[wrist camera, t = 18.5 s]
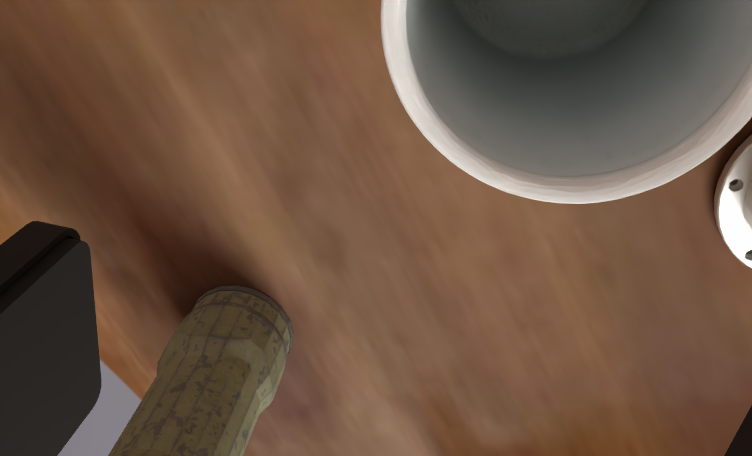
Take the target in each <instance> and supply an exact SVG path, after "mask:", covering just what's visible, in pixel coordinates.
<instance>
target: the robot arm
mask: <svg viewBox="0 0 752 456" xmlns="http://www.w3.org/2000/svg"><path fill="white" fill-rule="evenodd" d="M735 179H736V180H735ZM733 180H735V181H734V182H731V181H733ZM714 216H715V220H716V224H717V228H718V230H719V232H720V234H721V236H722V238H723V240H724V242H725V243H726V245H727V246H728V248H729V249H730V251H731V252H732V254H733V255H734V256H735V257H737V258H738V259H739V260H740V261H741V262H742V263H743V264H745V265H746V266H748V267H750V268H751V269H752V134H751V135H750V136H749V137H748V138H747V139H746V140H745V141H744V142H743V143H742V144H741V145H740V146H739V147H738V148H737V149H736V151H735V152H734V153H733V155H732V156H731V158H730V159H729V161H728V162H727V163H726V165H725V167H724V169H723V171H722V173H721V176H720V178H719V180H718V183H717V187H716V192H715V196H714ZM100 389H101V371H100V359H99V348H98V336H97V325H96V313H95V302H94V290H93V279H92V267H91V256H90V249H89V246H88V244H87V243H86V242H84V241H81V240H80V236H79V234H78V232H77V231H76V230H74V229H72V228H67V227H62V226H58V225H53V224H48V223H44V222H39V221H32V222H30V223H29V224H27V225H25V226H24V227H23V228H22V229H20V230H19V231H18V232H17V233H15V234H14V235H13V236H11V237H10V238H9V239H8V240H6V241H5V242H4V243H3V244H1V245H0V456H57V455H58V454H59V453H60V451H61V450H62V449H63V447H64V446H65V445H66V443H67V442H68V441H69V439H70V438H71V437H72V435H73V434H74V433H75V431H76V430H77V428H78V427H79V426H80V424H81V423H82V422H83V420H84V419H85V418H86V416H87V415H88V414H89V413H90V411H91V410H92V408H93V407H94V405H95V404H96V401H97V399H98V397H99V394H100ZM724 456H752V406H751V408H750V410H749V411H748V413H747V415H746V417H745V419H744V421H743V422H742V424H741V426H740V428H739V430H738V432H737V433H736V435H735V437H734V439H733V441H732V443H731V444H730V446H729V448H728V450H727V452H726V454H725V455H724Z"/></svg>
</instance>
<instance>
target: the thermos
mask: <svg viewBox="0 0 752 456" xmlns="http://www.w3.org/2000/svg"><path fill="white" fill-rule="evenodd" d="M292 338H293V331H292V327H291V323H290V320H289V318H288V317H287V315H286V314H285V312H284V311H283V309H282V307H280V306H279V305H278V304H277V303H276V302H275V301H274V300H272V299H271V298H270V297H269V296H267V295H265V294H263V293H261V292H259V291H257V290H255V289H252V288H247V287H243V286H239V285H231V286H220V287H217V288H214V289H212V290H209V291H207V292H206V293H205V294H204V295H202V296H201V297H200V298H199V299H198V300H197V302H196V303H195V305H194V307H193V309H192V311H191V312H190V313H189V314H188V315H187V316H186V317H184V319H183V320H182V322H181V323H180V325H179V327H178V328H177V330H176V331H175V333H174V335H173V336H172V338H171V339H170V341H169V343H168V345H167V347H166V348H165V350H164V352H163V354H162V356H161V358H160V360H159V361H158V368H157V377H156V378H155V380H154V381H153V383H152V385H151V386H150V388H149V390H148V391H147V393H146V395H145V396H144V398H143V400H142V401H141V403H140V405H139V406H138V408H137V409H136V411H135V413H134V414H133V416H132V418H131V419H130V421H129V423H128V424H127V426H126V428H125V429H124V431H123V432H122V434H121V436H120V437H119V439H118V441H117V442H116V444H115V445H114V447H113V449H112V451H111V452H110V454H109V455H108V456H243V454H244V451H245V449H246V446H247V444H248V441H249V439H250V436H251V434H252V431H253V429H254V426H255V424H256V421H257V419H258V416H259V415H260V414H261V413H262V412H263V411H264V410H265V409H266V408H267V407H268V406H269V405H270V404H271V403H272V401H273V398H274V396H275V393H276V390H277V388H278V385H279V383H280V380H281V377H282V375H283V372H284V369H285V365H286V358H287V354H288V353H289V351H290V348H291V346H292Z"/></svg>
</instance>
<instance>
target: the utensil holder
mask: <svg viewBox="0 0 752 456" xmlns="http://www.w3.org/2000/svg"><path fill="white" fill-rule="evenodd" d="M381 36H382V43H383V49H384V55H385V60H386V64H387V67H388V71H389V74H390V77H391V80H392V83H393V85H394V87H395V90H396V92H397V94H398V96H399V99H400V101H401V102H402V104H403V106H404V108H405V110H406V111H407V113H408V115H409V116H410V118H411V119H412V120H413V121H414V123H415V125H416V126H417V127H418V129H419V130H420V131H421V132H422V134H423V135H424V136H425V137H426V138H427V139H428V140H429V141H430V143H431V144H432V145H433V146H434V147H435V148H436V149H437V150H438V151H439V152H440V153H442V154H443V155H444V156H445V157H446V158H447V159H449V160H450V161H451V162H452V163H454V164H455V165H456V166H457V167H459V168H461V169H462V170H464V171H465V172H467V173H468V174H470V175H471V176H473V177H475V178H477V179H478V180H480V181H482V182H484V183H486V184H488V185H491V186H493V187H495V188H497V189H499V190H502V191H505V192H507V193H510V194H514V195H518V196H521V197H525V198H530V199H534V200H540V201H546V202H554V203H571V204H584V203H597V202H603V201H610V200H616V199H620V198H624V197H628V196H631V195H635V194H638V193H641V192H644V191H647V190H650V189H653V188H655V187H658V186H660V185H663V184H665V183H667V182H669V181H671V180H673V179H675V178H677V177H679V176H681V175H683V174H684V173H686V172H688V171H689V170H691V169H693V168H694V167H696V166H697V165H699V164H700V163H702V162H703V161H705V160H706V159H708V158H709V157H710V156H712V155H713V154H714V153H716V152H717V151H718V150H719V149H721V148H722V147H723V146H724V145H725V144H726V143H727V142H728V141H730V140H731V139H732V138H733V137H734V136H735V135H736V134H737V133H738V132H739V131H740V130H741V129H742V128H743V126H744V125H745V124H746V123H747V122H748V121H749V120H750V119H751V117H752V0H382V1H381Z"/></svg>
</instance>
